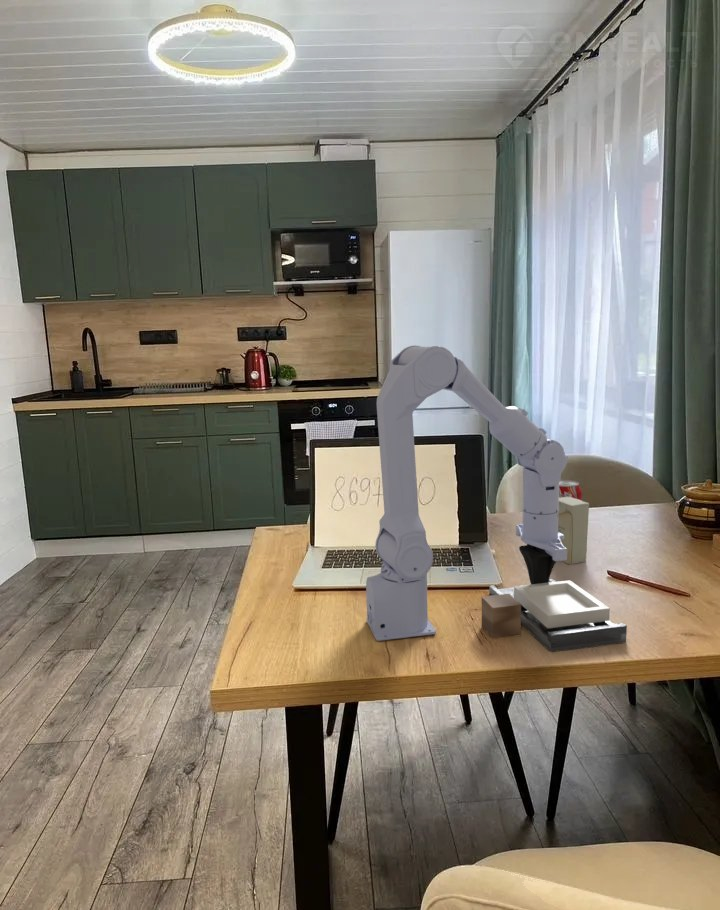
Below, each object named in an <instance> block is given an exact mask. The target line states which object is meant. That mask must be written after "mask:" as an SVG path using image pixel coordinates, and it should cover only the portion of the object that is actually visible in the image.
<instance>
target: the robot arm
mask: <svg viewBox="0 0 720 910" xmlns="http://www.w3.org/2000/svg"><path fill="white" fill-rule="evenodd" d="M442 390H445V391H450V392H452V393H455V394H456V395H457V396H458V397H459V398H461V400H463V401H464V402H465V403H466V404H468V405H469V406H470V407H471V408H472V409H474V410H475V411H476V412H477V413H478V414H480V416H482V417H483V418H484V419H486V420H487V421H488V422H489V423H488V428H489V433H490V435H491V436H493V437H494V438H495V439H496V441H498V442H499V443H500V444H502V445H503V446H504V447H505V448H506V449H507V450H508V451H509V453H511V454H512V455H513V456H515V460H516V463H517V465H518V466H520V467H522V517H521V518H522V520H521V521H522V523H520V524H516V525H515V535H516V537H520V540H521V541H522V543H524V544H526V545H520V546H519V547H518V549H519V551H520V554H521V556H522V557H523V559H524V562H525V566H526V569H527V572H528V576H529V577H528V578H529V582H530V585H531V584H540V583H548V582H549V579H551V578H550V577H551V575H552V572H553V569H554V566H555V565H556V563H557V562H563V561H564V560H567V548H565V547H564V546H563V544H562V542H561V540H562V539H564V535H563V534H562V533H560V532H558V510H559V482H561V480H562V478H561V477H562V473H563V471H564V470H565V468H566V466H567V464H568V461H569V459H568V458H569V456H567V455H566V452H565V449H564V446H562V444H561V443H560V442H559V441H556V440H554V439H549V438H548V437H547V431H546V430H545V429H544V428H542V427H538V426H537V425H536V424H535V423H534V422H533V421H532V420H531V419H530V418H529V417H528V414H529V412H528V411H527V410H526V409H525V408H524V407H523V408H522V407H517V406H516V405H515V406H514V405H511V406H510V405H509V406H504V405H503V403H502V402H500V400H499V399H498V398H497V397H496V396H495V395H494V394H493V393H492V392H491V391H490V390H489V389H488V388H487V387H486V386H485V384H484V383H482V381H480V380H479V378H478V377H477V376H476V375H475V374H474V373H473V372H472V371H471V370H470V369H469V367H467V365H466V364H465V363H464V361H463V360H461V359H460V358H458V357H456V356H454V355H453V353H452V352H451V351H450V350H449V349H447V348H446V347H444V346H439V345H432V346H421V345H409V346H406V347H404V348H403V349H402V350H401V351H400V352H399V353H398V354H396V355H395V356H394V358H392V359H391V360H390V361H389V370H388V373H387V375H386V377H385V380H384V382H383V384H382V387H381V388H380V390H379V393H378V395H377V397H376V415H377V428H378V431H377V432H378V442H379V456H380V457H379V458H380V470H381V483H382V498H383V510H384V511H383V512H384V513H383V515H382V516H381V518H380V519H379V530H378V531H379V532H378V534H377V537H376V540H375V551H376V553H377V555H378V557H379V558H380V559H381V560H382V564H381V568H380V573H378V574H375V575H371V576H368V577H367V578H366V581H365V591H366V593H365V596H366V622H367V625H368V627H369V629H370V630H371V633H372V634H373V637H374V639H375V640H376V641H379V642H380V641H387V640H397V639H405V638H413V637H421V636H430V635H435V634H437V629H436V628H435V627H434V626H433V624H432V622H431V621H430V620H429V619H428V612H429V611H428V573H429V571H430V570H431V568H432V566H433V564H434V554H433V550H432V548H431V546H430V545H429V543H428V540H427V533H426V532H427V531H426V529H425V527H424V523H423V522H422V519H421V516H420V514H419V513H420V512H419V511H420V510H419V499H418V496H419V495H418V481H417V467H416V466H417V464H416V450H415V435H414V419H413V417H414V416H413V413H414V412H415V410H416V409H418V408H419V406H420V405H421V404H422V403H423V402H424V401H425V400H426V399H427V398H429V397H431V396H432V395H434V394H437V393H438V392H440V391H442Z"/></svg>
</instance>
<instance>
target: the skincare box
mask: <svg viewBox="0 0 720 910" xmlns="http://www.w3.org/2000/svg"><path fill="white" fill-rule="evenodd" d="M589 512H590V503H589V502H586V501H584V500H583V499H582V500H579V499H576V498H573V497H570V496H569V497H561V498H559V510H558V532H560V533H562V534H563V535H564V539H562V540H561V542H562V544H563V546H564V547H565V548H567V560H564V561H562V562H563V563H565V564H566V565H574V564H579V563H585V562H587V547H588V546H587V545H588V529H589V514H590V513H589Z"/></svg>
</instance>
